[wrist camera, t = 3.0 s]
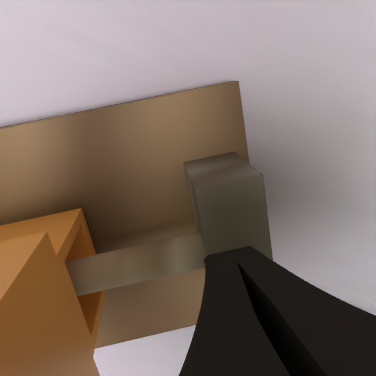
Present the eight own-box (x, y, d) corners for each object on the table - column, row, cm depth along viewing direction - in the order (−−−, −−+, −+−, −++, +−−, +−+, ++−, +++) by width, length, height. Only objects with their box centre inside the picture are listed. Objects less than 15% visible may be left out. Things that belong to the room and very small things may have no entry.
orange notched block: (75, 188, 12) (-35, 351, 5) (111, 303, 13) (70, 550, 6) (-38, 212, 12) (-327, 419, 5) (13, 325, 13) (-143, 606, 6)
